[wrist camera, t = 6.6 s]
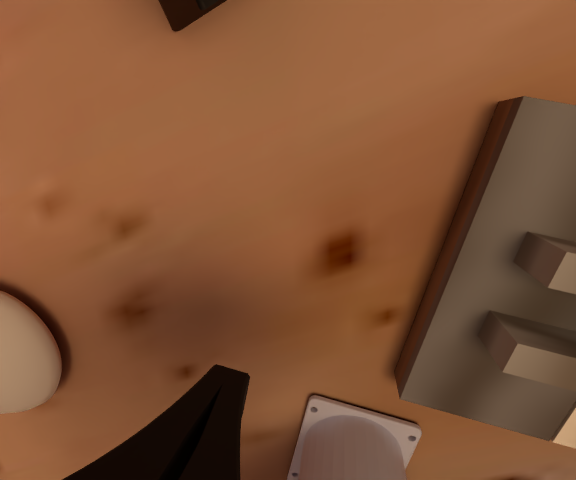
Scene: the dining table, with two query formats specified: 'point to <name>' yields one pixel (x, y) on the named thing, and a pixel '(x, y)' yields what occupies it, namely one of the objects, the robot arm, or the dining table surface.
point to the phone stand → (186, 11)
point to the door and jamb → (506, 284)
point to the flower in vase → (25, 358)
